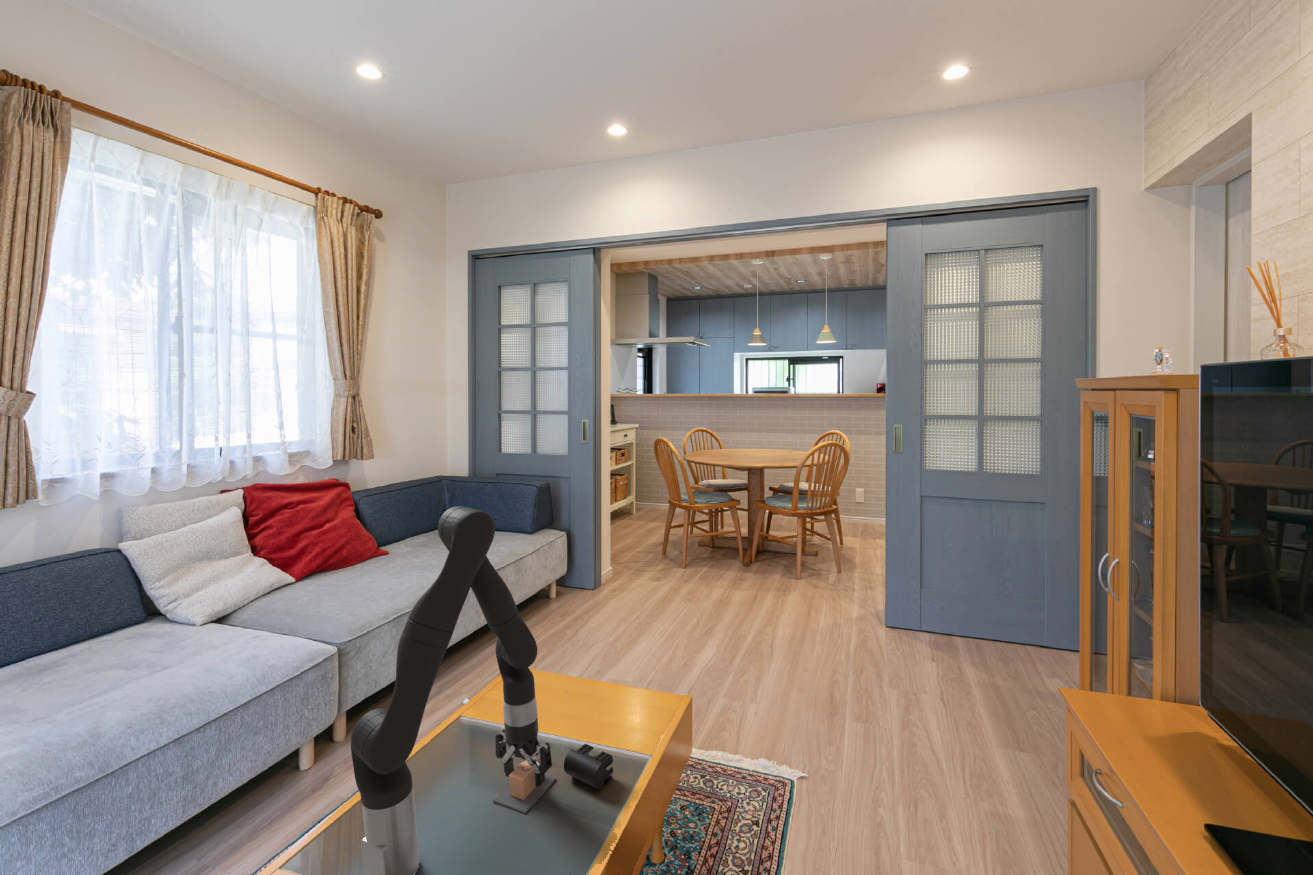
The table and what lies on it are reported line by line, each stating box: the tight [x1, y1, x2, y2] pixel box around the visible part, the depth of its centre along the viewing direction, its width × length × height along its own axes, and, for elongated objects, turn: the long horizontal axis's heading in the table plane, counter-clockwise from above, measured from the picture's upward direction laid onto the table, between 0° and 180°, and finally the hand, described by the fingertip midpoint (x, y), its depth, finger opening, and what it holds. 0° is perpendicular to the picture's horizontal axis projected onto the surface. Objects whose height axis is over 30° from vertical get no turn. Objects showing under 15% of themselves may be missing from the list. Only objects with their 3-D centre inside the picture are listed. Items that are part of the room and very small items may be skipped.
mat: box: [492, 773, 557, 815], centre depth 145 cm, size 12×9×1 cm
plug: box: [508, 760, 539, 800], centre depth 146 cm, size 9×4×5 cm, turn 155°
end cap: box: [563, 743, 614, 791], centre depth 147 cm, size 10×7×7 cm
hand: (524, 779), depth 145 cm, fingers open, 8 cm apart
